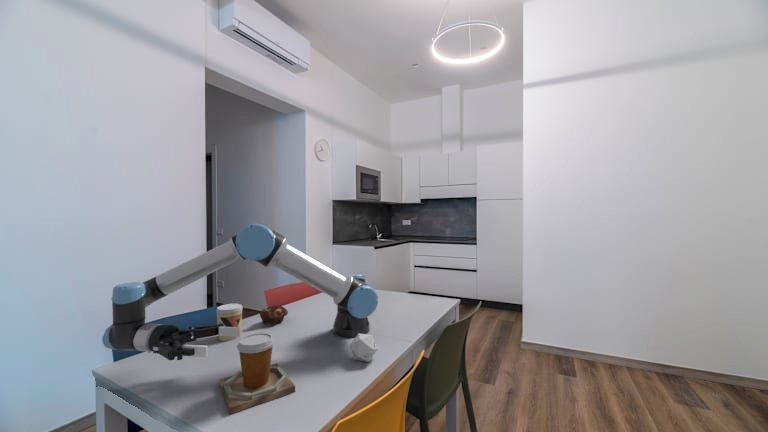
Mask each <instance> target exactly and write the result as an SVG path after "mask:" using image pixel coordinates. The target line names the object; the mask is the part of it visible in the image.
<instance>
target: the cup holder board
mask: <svg viewBox="0 0 768 432" xmlns="http://www.w3.org/2000/svg"><path fill="white" fill-rule="evenodd" d="M218 386H219V390H220V392H221V394H222V397H223V399H224V402H225V405H226V408H227V410H228V414H229V415H232V414H235V413H237V412H241V411H243V410H247V409H249V408H251V407H255V406H257V405H260V404H263V403H266V402H269V401H273V400H275V399H278V398H280V397H283V396H285V395H286V396H287V395H289V394H293V393H294V392H296V385H295V383H294V382H293V381H292V380H291V379H290V378H289V376H288V374H287V373H286V372H285V371H284V369H283V368H282V367H281V366H279V364H278V363H273V364H270V371H269V380H268V382H267V383H266V384H265V385H263V386H261V387H258V388H246V387H244V383H243V375H242V370H239V371H237V372H236V373H235V374H234V375H230V376H228V377H224V378H220V379H218Z"/></svg>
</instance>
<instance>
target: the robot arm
mask: <svg viewBox="0 0 768 432" xmlns="http://www.w3.org/2000/svg"><path fill="white" fill-rule="evenodd" d="M239 260H241V261H245V260H249V261H253V262H254V261H255V262H256V263H259V264H260V265H262V266H264V267H266V268H269V267H276V268H277V269H279V270H281V271H283V272H284V273H287V274H288V275H290V276H291V277H294V278H296V279H298V280H299V281H301V282H303V283H305V284H306V285H309V286H310V287H312V288H314V289H315V290H318V291H320V292H321V293H324V294H325V295H327V296H329V297H330V298H332V299H333V303H334V304H335V305H336V307H337V309H336V310H337V312H336V316H335V318H334V322H333V325H332V331H333V332H332V333H333V334H334V335H336V336H339V337H345V338H346V337H347V338H351V337H352V338H355V337H356V336H357V334H358V333H360V334H367V333H369V332H370V330H371V329H370V327H371V326H370V325H371V324H370V321H369V318H368V317H369V316H371V315H372V314H373V313H374V312H375V311H376V310H377V307H378V304H379V295H378V294H377V292H376V290H375V288H373V287H372V286H370V285H368V284H367V283H366V276H365V275H364V274H360V273H359V274H358V273H357V274H355V273H354V274H341V273H340V272H338V271H335V270H334V269H333V268H330V266H329V267H328V265H325V264H323V263H322V262H320V261H318V260H316V259H315V258H313V257H312V256H309V255H308V254H306V253H305V252H303V251H301V250H299V249H297V248H296V247H294V246H292V245H290V244H289V243H288V240H287V237H285V236H284V235H282V234H280V233H278V232H277V231H275V230H273V229H272V228H270V226H268V225H267V224H264V223H260V222H252V223H248V224H247V225H244V226H243V227H242V228H241V229H240V230H239V231H238V233H237V234H235V235H233V236H230V238H229V241H226V242H224V243H222V244H221V245H218V246H216V247H214V248H212V249H210V250H208V251H206V252H204V253H201V254H199V255H198V256H194V258H191V259H189V260H187V261H185V262H182V263H181V264H179V265H177V266H174V267H173V268H170V269H169V270H166V271H164V272H162V273H160V274H159V275H156V276H154V277H151V278H149V279H148V280H147V279H146V280H144V281H143V282H141V281H135V282H134V281H133V282H126V283H120V284H118V285H115V286H114V287H112V297H111V301H112V306H111V307H112V324H110V325H109V326H108V327H107V328H106V329H105V331H104V334H103V336H102V338H101V341H102V344H103V346H104V347H105V348H107V349H108V350H109V349H110V350H115V351H120V352H121V351H136V352H137V351H138V352H147V353H149V354H150V353H153V354H158V355H160V356H162V357H163V358H165V359H167V360H168V361H173V360H175V359H176V360H177V361H181V360H183V359H184V358H183V356H184V357H193V358H194V357H195V358H207V357H209V345H201V344H199V345H197V344H187V343H191V342H192V343H193V342H195V341H197V340H199V339H204V338H209V337H215V336H218V335H219V336H227V337H238V338H240V337H241V335H240V327H224V324H222V323H219V324H216V323H215V324H207V325H198V326H197V325H196V326H195V325H194V326H193V325H192V326H189V327H188V329H180V328H178V327H177V326H176V325H174V324H162V323H146V308H147V307H148V306H150V305H152V304H153V303H155V302H157V301H159V300H161V299H163V298H165V297H167V296H169V295H171V294H172V293H174V292H176V291H178V290H180V289H183V288H185V287H186V286H188V285H191V284H193V283H195V282H197V281H199V280H201V279H203V278H204V277H207V276H208V275H210V274H212V273H214V272H216V271H219V270H221V269H222V268H225V267H226V266H229V265H231V264H233V263H234V262H236V261H239ZM219 336H218V337H219ZM239 336H240V337H239Z"/></svg>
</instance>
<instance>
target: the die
mask: <svg viewBox="0 0 768 432" xmlns="http://www.w3.org/2000/svg"><path fill="white" fill-rule="evenodd" d="M348 347H349V349H350V351H351V354H352V357H353V359H354V361H360V362H366V363H370V361H371V360H372V359H373V357H374V355H375V354H376V352H377V351H378V347H377V344H376V341H375V339H374V337H373V335H372V334H367V333H366V334H360V333H358V334H357V336H355V337H354V338H353V340H352V341H351V342H350V344H349V345H348Z"/></svg>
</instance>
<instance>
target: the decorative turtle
mask: <svg viewBox="0 0 768 432" xmlns="http://www.w3.org/2000/svg"><path fill="white" fill-rule="evenodd" d="M259 311H260V312H259V317H260V319H261V322H262V324H263V325H267V324H270V326H275V325H276V323H279V324H281V323H283V321H284V319H285V317H287V315H288V314H289V310H288V309H287V308H285V306H284V307H283V306H281V305H270V306H268V307H267V308H262V309H261V310H259Z"/></svg>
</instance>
